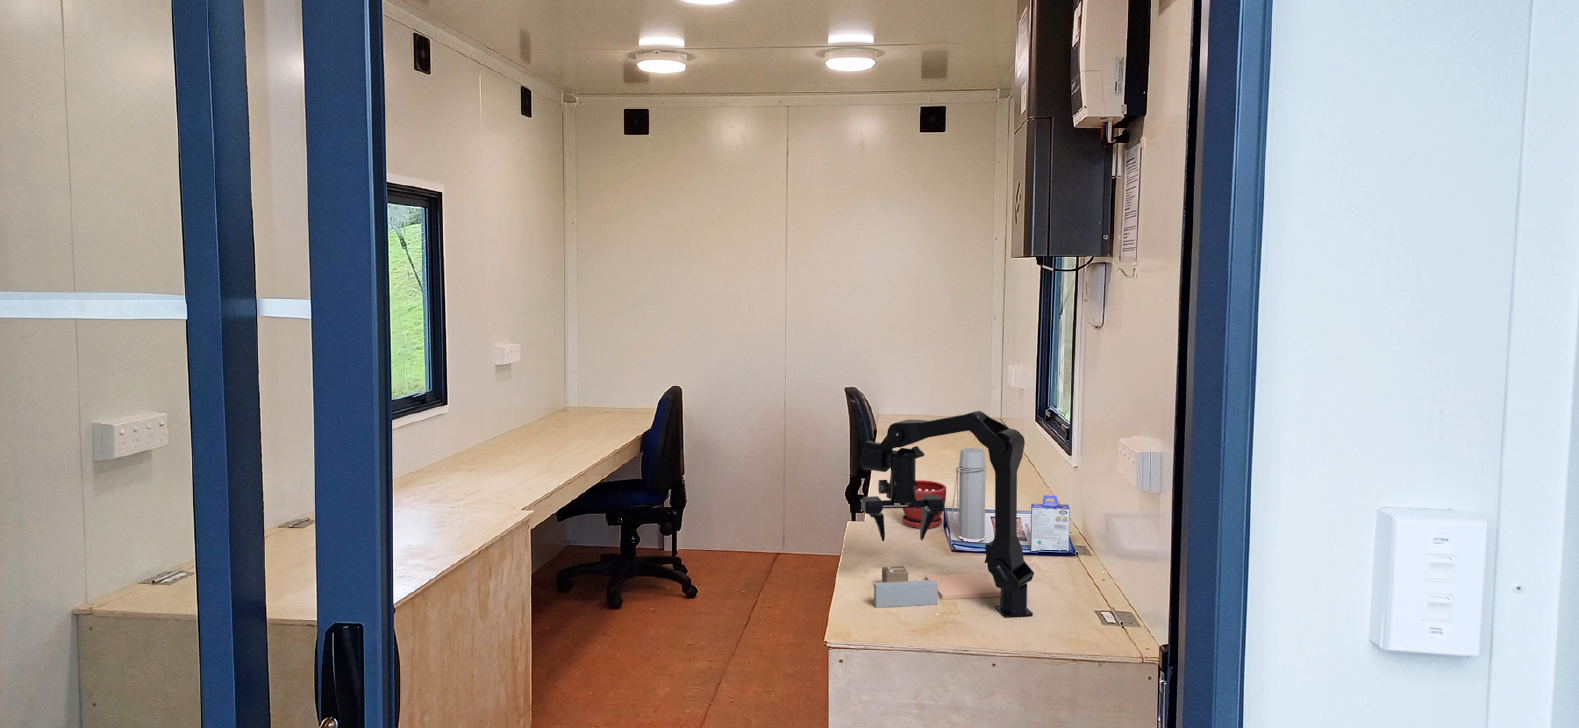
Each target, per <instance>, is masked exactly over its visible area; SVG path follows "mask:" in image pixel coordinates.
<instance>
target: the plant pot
mask: <svg viewBox="0 0 1579 728" xmlns="http://www.w3.org/2000/svg"><path fill="white" fill-rule="evenodd" d="M915 481H916V486H915V498H916V499H922V497H923V495H938V496H939V497H940V498H941V499H943V500H944V503H945V504H946V500H947V487H946V485H945V484H943V483H940V482H937V481H931V480H923V479H920V480H916V479H915ZM905 504H906V503H905ZM907 504H911V503H907ZM902 511H903V513H904V515H902V517H901V519H902V522H903V523H904V524H905V525H906V526H909V527H911V528H915V529H920V528H921V518H922V513H921V507H920V508H902ZM942 515H943V512H939V515H936V516H935V517H934V519H933V520H932V522H931V523H930V525H929V527H928V529H932V528H937V527H939V526H940V525H941V524H942V522H943V518H942V517H941V516H942Z"/></svg>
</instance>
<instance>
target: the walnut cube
mask: <svg viewBox="0 0 1579 728" xmlns="http://www.w3.org/2000/svg"><path fill="white" fill-rule="evenodd" d="M904 581H909V571H908V570H907V569H906V567H904V566H903V565H893V566H892V565H891V566H889V565H888V566H882V567H881V583H884V582H904Z"/></svg>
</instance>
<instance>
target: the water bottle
mask: <svg viewBox="0 0 1579 728" xmlns="http://www.w3.org/2000/svg"><path fill="white" fill-rule="evenodd" d="M959 452H960V453H959V463H958V467H956V468H955V472H956V474H955V475H956V476H955V477H956V478H955V485H954V486H955V487H954V493H953V499H952V507H951V519H952V523H953V524H956V523H958V537H959V536H961V537H963V538H967V539H974V540H975V539H982V538H984V536H986V535H985V533H986V532H985V530H986V529H985V527H986V525H985V524H986V469H987V466H986V457H985V455H986V453H985V450H984V449H982V448H976V447H975V448H973V447H972V448H970V447H967V448H966V447H965V448H962V449H960V451H959ZM956 491H957V492H956ZM956 493H957V497H956ZM955 498H956V499H957V501H956V502H957V504H956V505H957V507H956V508H957V519H956V521H955V520H954V507H955ZM984 539H985V538H984Z"/></svg>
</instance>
